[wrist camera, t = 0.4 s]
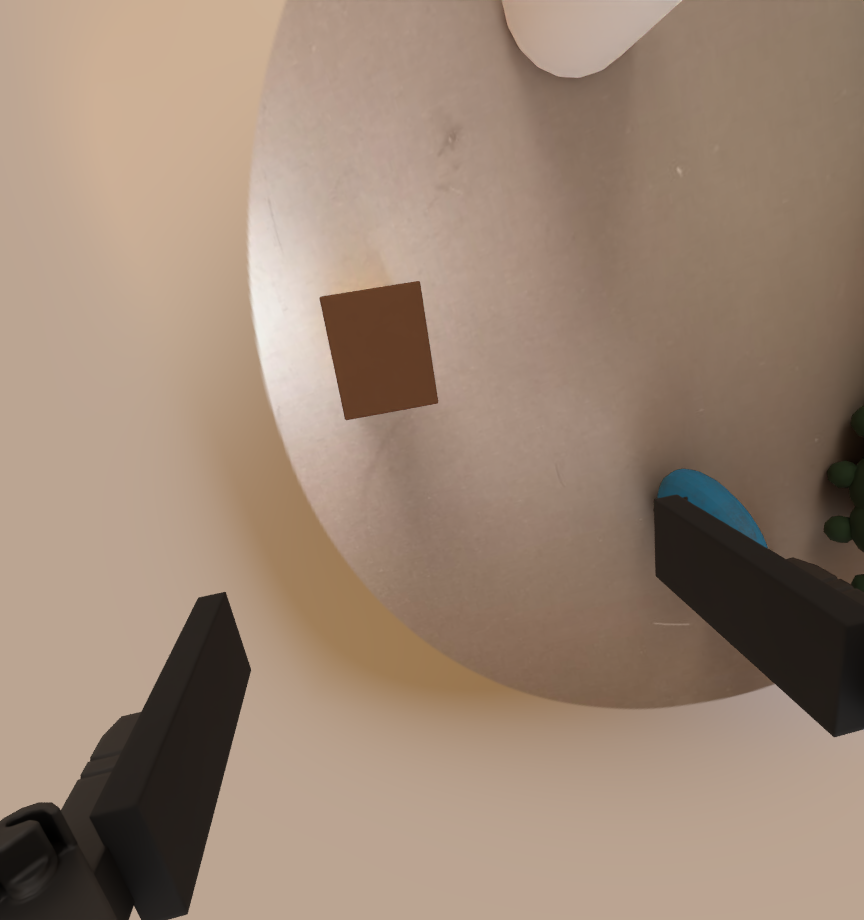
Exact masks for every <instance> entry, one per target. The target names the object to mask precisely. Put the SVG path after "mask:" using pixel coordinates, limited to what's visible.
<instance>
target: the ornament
mask: <svg viewBox="0 0 864 920" xmlns="http://www.w3.org/2000/svg"><path fill="white" fill-rule="evenodd" d="M676 494H677V495H679V496H681V497H682V498H684V499H686V500H687V501H689V502H691V503H692V504H694V505H696V506H697V507H699V508H701V509H702V510H704V511H706V512H707V513H709V514H711V515H713V516H714V517H716V518H718V519H719V520H721V521H723V522H724V523H726V524H728V525H729V526H731V527H733V528H734V529H736V530H738V531H739V532H741V533H743V534H744V535H746V536H748V537H749V538H751V539H753V540H754V541H756V542H758V543H759V544H761V545H763V546H764V547H766V548H768V547H767V544H766V542H765V540H764V537H763V535H762V533H761V531H760V530H759V528H758V526H757V524H756V523H755V521H754V520H753V518H752V517H751V515H750V514H749V513H748V511H747V510H746V509H745V508H744V506H743V505H742V504H741V503H740V502H739V501H738V500H737V498H735V497H734V496H733V495H732V494H731V493H730V492H729V491H728V490H727V489H726V488H725V487H724V486H722V485H721V484H720V483H719V482H717V481H716V480H714V479H712V478H711V477H709V476H707V475H705V474H703V473H701V472H698V471H695V470H689V469H679V470H675V471H673V472H672V473H670V474H669V475H667V476H666V477H665V478H664V479H663V481H662V483H661V485H660V487H659V491H658V498H662V497H666V496H671V495H676Z"/></svg>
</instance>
